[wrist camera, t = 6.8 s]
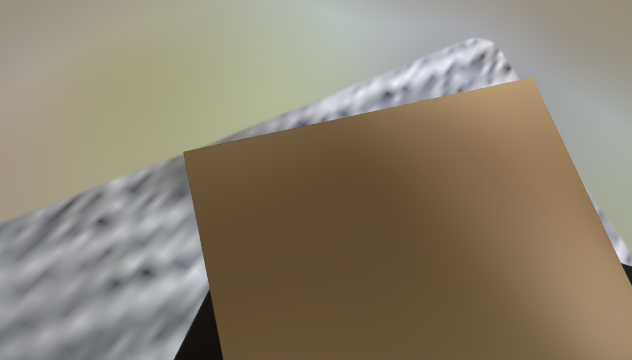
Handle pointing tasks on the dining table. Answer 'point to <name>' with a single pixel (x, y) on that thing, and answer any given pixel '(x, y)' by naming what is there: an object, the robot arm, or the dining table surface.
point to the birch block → (410, 238)
